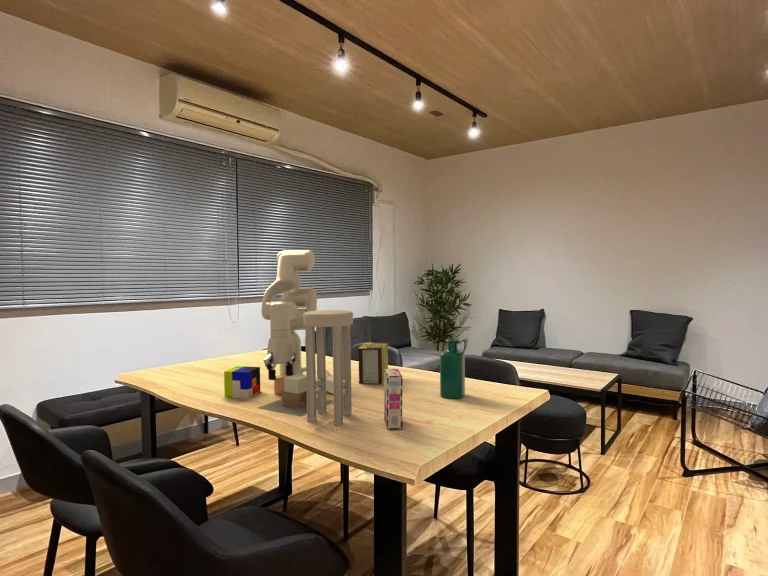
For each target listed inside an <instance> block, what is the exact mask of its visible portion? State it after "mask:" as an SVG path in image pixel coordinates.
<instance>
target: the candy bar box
mask: <svg viewBox="0 0 768 576" xmlns="http://www.w3.org/2000/svg"><path fill="white" fill-rule="evenodd" d="M383 385H384V388H383V389H384V390H383V400H384V403H383V406H384V408H383V410H384V411H383V414H384V419H383V420H384V422H385V426H386V429H387V430H402V429H403V375H402V374H401V371H400V370H399V369H398V368H388V369H384V382H383Z"/></svg>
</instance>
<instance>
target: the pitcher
mask: <svg viewBox="0 0 768 576" xmlns="http://www.w3.org/2000/svg"><path fill="white" fill-rule="evenodd" d="M444 341H445V342H447V349H445V350H444V351H442V352H441V353H440V355H439V388H440V389H439V390H440V391H439V393H440V397H441V398H444V399H454V400H460V399H462V398H463V397H465V394H466V376H465V375H466V368H465V367H466V365H465V364H466V358H465V357H466V356H465V355H466V354H465V352H466V351H467V349H468V344H469V343H468V342H469V339H468V338H467V337H466V338H463V339H462V340H460V339H458V338H446V339H445V340H444ZM462 342H464V343H463V350H459V349H458V344H461V343H462Z"/></svg>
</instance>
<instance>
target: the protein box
mask: <svg viewBox="0 0 768 576" xmlns="http://www.w3.org/2000/svg"><path fill="white" fill-rule="evenodd" d="M388 345H389V344H388V342H365V343H363V344H362V345H361V346H359V347H358V350H357V351H358V352H357V354H358V384H360V385H362V384H363V385H384V369H389V352H388V351H389V346H388Z"/></svg>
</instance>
